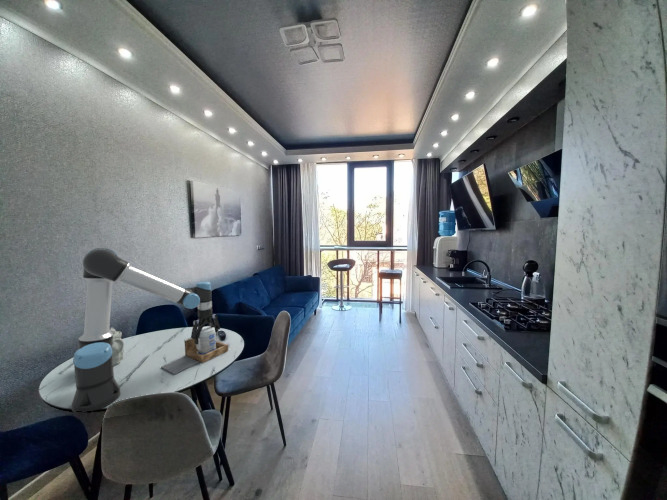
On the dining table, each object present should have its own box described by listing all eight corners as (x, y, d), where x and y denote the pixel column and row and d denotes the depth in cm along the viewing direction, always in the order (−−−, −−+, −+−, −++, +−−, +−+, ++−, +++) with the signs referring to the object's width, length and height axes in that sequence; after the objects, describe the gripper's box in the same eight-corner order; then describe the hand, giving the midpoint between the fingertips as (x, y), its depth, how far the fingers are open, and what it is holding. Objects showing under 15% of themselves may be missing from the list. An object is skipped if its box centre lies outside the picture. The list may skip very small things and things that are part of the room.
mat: (174, 374, 126) (174, 373, 126) (161, 367, 133) (161, 366, 133) (199, 363, 138) (199, 361, 138) (185, 357, 144) (185, 356, 144)
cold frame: (202, 363, 138) (201, 346, 137) (185, 355, 146) (184, 339, 145) (228, 350, 152) (227, 335, 151) (211, 344, 160) (210, 329, 159)
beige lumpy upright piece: (104, 373, 128) (101, 338, 126) (81, 370, 131) (78, 335, 129) (136, 357, 144) (133, 325, 143) (114, 355, 147) (112, 324, 146)
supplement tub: (214, 356, 145) (212, 331, 144) (195, 358, 143) (194, 333, 142) (217, 348, 154) (216, 325, 153) (200, 350, 152) (199, 326, 151)
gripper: (189, 315, 135) (191, 355, 137) (225, 304, 154) (227, 339, 156) (181, 312, 139) (184, 351, 141) (218, 302, 158) (219, 337, 160)
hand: (206, 345), depth 148 cm, fingers closed on supplement tub, 9 cm apart
